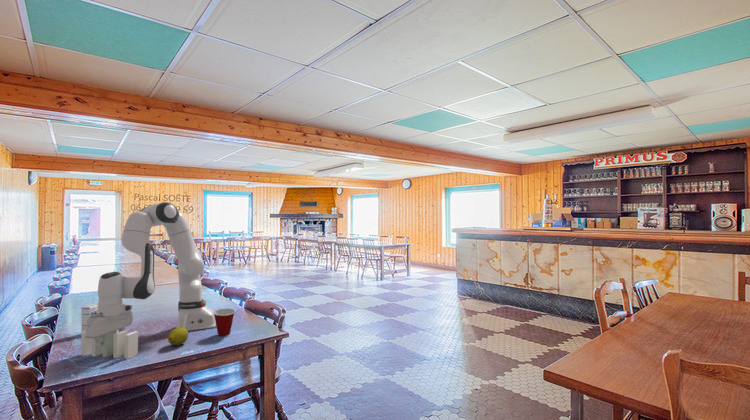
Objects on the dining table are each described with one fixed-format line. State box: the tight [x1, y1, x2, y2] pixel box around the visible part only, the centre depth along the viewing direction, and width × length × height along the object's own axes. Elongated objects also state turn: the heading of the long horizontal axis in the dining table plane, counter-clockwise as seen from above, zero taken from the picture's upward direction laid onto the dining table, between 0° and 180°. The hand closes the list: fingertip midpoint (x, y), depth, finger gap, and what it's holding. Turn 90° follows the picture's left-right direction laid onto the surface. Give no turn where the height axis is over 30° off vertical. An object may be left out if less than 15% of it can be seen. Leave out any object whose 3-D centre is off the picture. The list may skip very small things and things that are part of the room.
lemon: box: [167, 327, 189, 346], centre depth 171 cm, size 11×8×8 cm
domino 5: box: [124, 331, 139, 360], centre depth 157 cm, size 2×5×10 cm, turn 170°
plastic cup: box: [213, 307, 236, 337], centre depth 186 cm, size 11×11×12 cm
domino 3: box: [102, 330, 118, 358], centre depth 159 cm, size 2×5×10 cm, turn 170°
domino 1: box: [80, 331, 92, 357], centre depth 160 cm, size 2×5×10 cm, turn 170°
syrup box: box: [80, 303, 98, 332], centre depth 188 cm, size 6×6×14 cm
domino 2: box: [91, 335, 103, 357], centre depth 159 cm, size 2×5×10 cm, turn 170°
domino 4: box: [112, 330, 128, 359], centre depth 158 cm, size 2×5×10 cm, turn 170°
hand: (109, 341), depth 159 cm, fingers open, 8 cm apart
